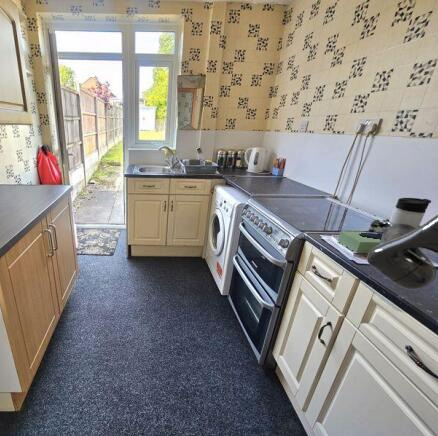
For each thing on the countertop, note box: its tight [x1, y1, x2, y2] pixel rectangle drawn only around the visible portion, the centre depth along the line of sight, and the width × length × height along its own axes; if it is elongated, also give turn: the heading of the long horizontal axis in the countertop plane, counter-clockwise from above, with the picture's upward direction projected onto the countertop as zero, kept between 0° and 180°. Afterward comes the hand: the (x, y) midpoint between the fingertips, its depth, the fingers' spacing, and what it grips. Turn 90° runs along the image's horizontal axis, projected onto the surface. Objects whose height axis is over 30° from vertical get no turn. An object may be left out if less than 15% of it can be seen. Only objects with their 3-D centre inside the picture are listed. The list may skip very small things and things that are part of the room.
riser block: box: [337, 230, 381, 253], centre depth 97 cm, size 10×10×5 cm
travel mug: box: [380, 197, 432, 244], centre depth 74 cm, size 6×7×20 cm
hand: (401, 225), depth 75 cm, fingers closed on travel mug, 6 cm apart
